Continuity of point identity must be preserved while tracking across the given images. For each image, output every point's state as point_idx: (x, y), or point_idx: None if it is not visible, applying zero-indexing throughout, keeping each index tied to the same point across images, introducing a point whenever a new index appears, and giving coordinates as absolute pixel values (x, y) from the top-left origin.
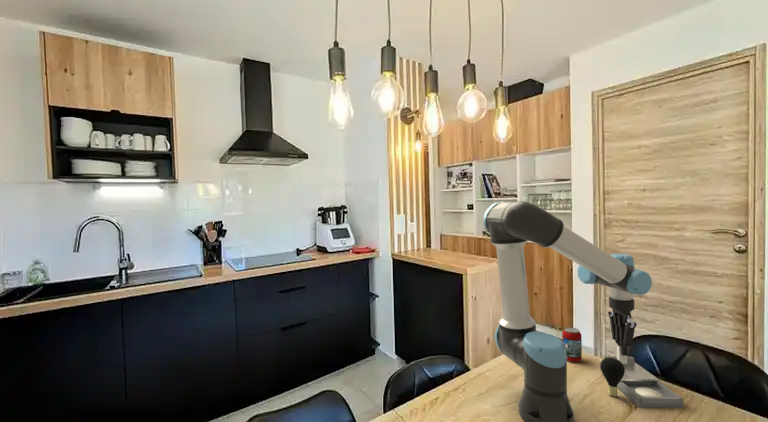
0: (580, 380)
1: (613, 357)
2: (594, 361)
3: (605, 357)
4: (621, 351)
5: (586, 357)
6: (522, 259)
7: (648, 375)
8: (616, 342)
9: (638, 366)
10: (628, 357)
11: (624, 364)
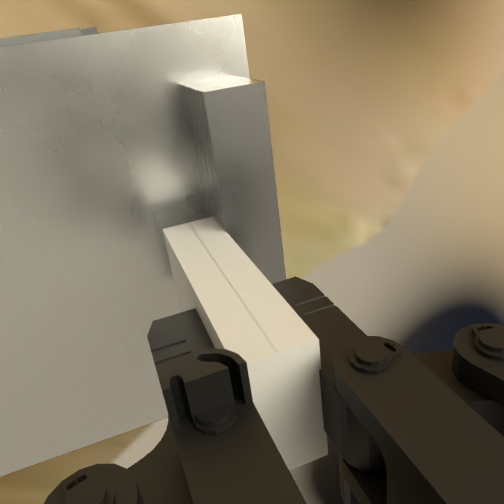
0: None
1: (247, 196)
2: (423, 61)
3: (239, 85)
4: (200, 337)
5: (496, 14)
6: None
7: (12, 432)
8: (349, 352)
9: None
10: None
11: None
